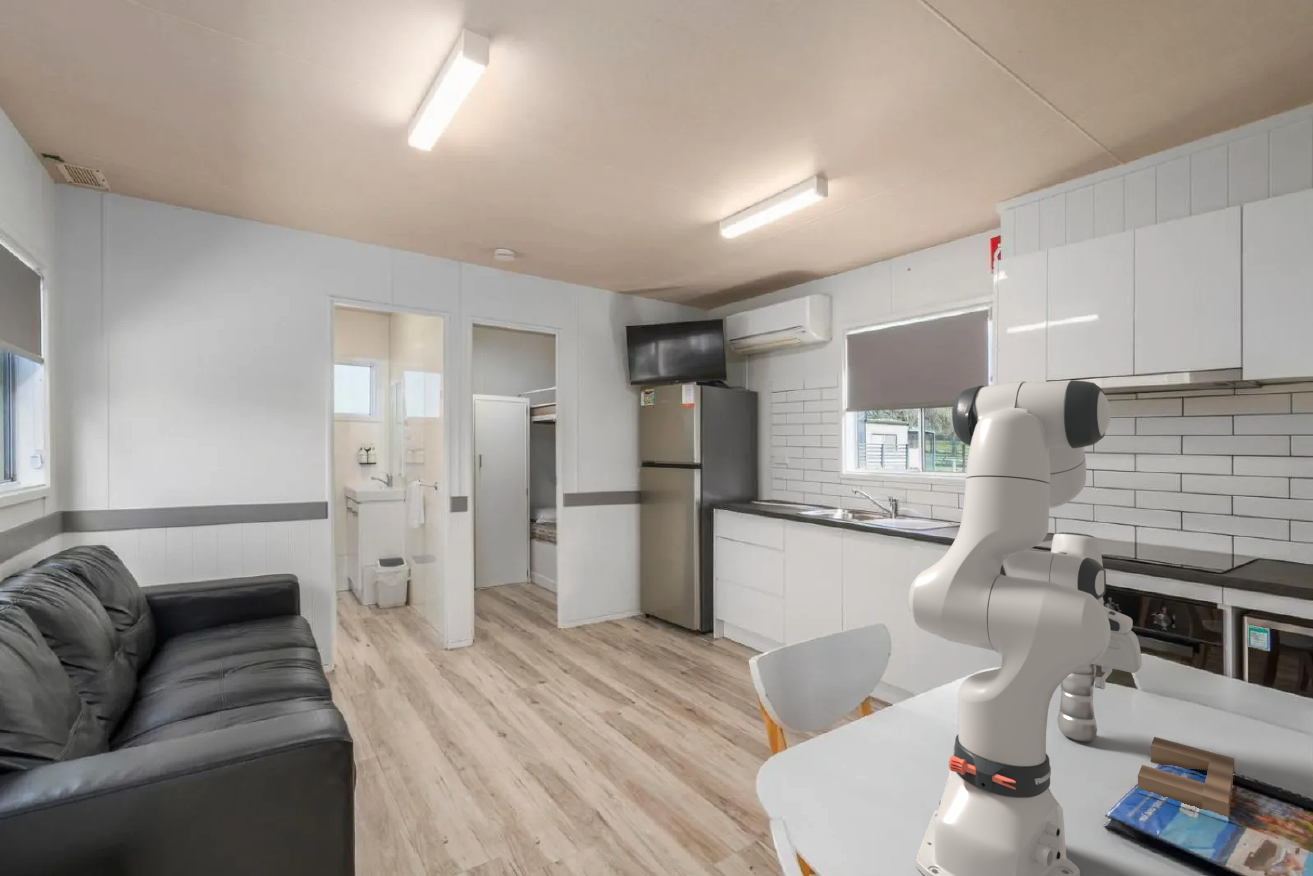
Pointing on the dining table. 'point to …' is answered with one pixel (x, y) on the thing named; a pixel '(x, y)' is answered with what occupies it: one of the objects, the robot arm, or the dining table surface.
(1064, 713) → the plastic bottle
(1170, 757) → the notched board
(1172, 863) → the dining table surface
